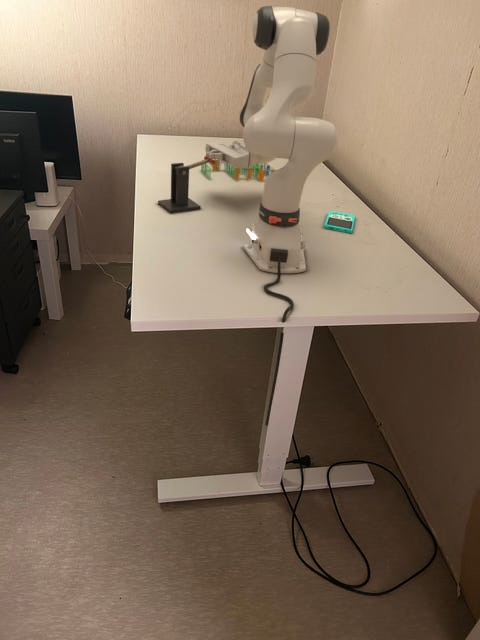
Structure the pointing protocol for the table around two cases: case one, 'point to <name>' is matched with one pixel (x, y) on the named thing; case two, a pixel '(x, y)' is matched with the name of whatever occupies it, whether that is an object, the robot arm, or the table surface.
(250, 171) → the house model
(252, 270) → the table surface
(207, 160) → the lever
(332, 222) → the handheld game console
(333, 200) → the table surface
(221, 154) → the robot arm
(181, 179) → the bracket
